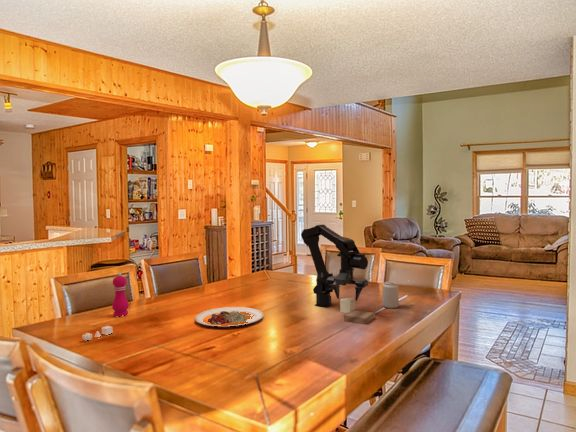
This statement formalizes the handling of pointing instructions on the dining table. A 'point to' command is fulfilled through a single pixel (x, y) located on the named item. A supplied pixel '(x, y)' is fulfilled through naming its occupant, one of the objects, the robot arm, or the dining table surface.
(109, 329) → the game pieces
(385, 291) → the can
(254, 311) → the plated food
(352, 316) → the plinth
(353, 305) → the block
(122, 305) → the pepper mill
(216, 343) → the dining table surface
